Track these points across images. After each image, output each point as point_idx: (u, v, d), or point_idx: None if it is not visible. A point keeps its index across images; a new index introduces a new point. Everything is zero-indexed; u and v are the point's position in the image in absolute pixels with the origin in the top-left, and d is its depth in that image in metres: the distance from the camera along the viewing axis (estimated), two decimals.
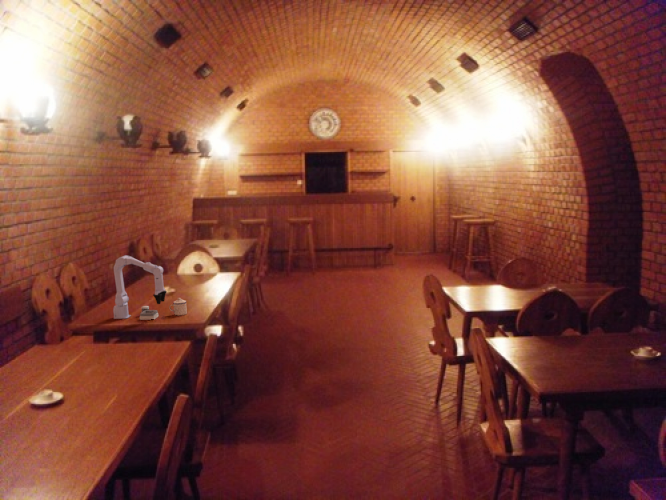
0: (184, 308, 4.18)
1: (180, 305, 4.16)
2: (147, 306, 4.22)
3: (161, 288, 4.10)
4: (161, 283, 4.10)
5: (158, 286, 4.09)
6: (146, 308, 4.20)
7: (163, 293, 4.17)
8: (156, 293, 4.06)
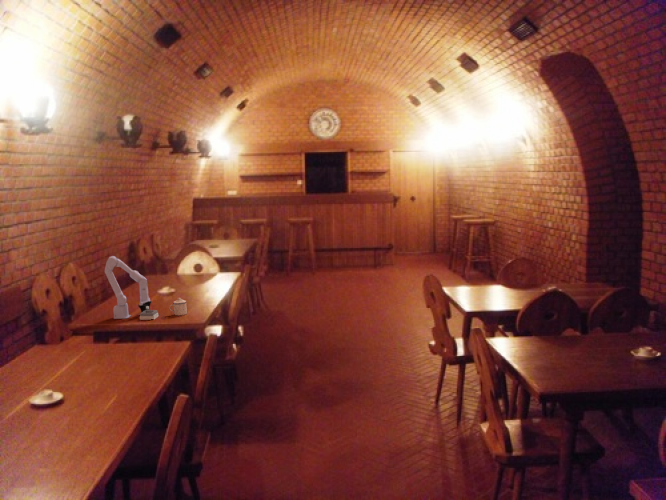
0: (184, 308, 4.18)
1: (180, 305, 4.16)
2: (147, 306, 4.22)
3: (146, 298, 4.19)
4: (147, 293, 4.19)
5: (143, 297, 4.18)
6: (146, 308, 4.20)
7: (148, 303, 4.25)
8: (141, 304, 4.14)
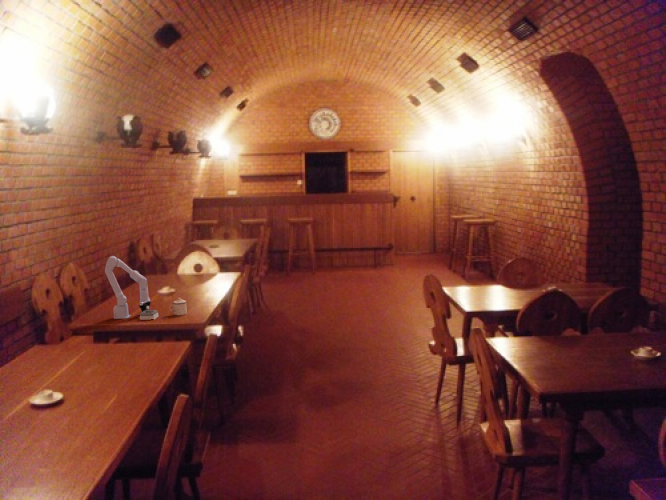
0: (184, 308, 4.18)
1: (180, 305, 4.16)
2: (147, 306, 4.22)
3: (146, 299, 4.19)
4: (147, 293, 4.19)
5: (143, 297, 4.18)
6: (146, 308, 4.20)
7: (147, 304, 4.24)
8: (141, 304, 4.14)
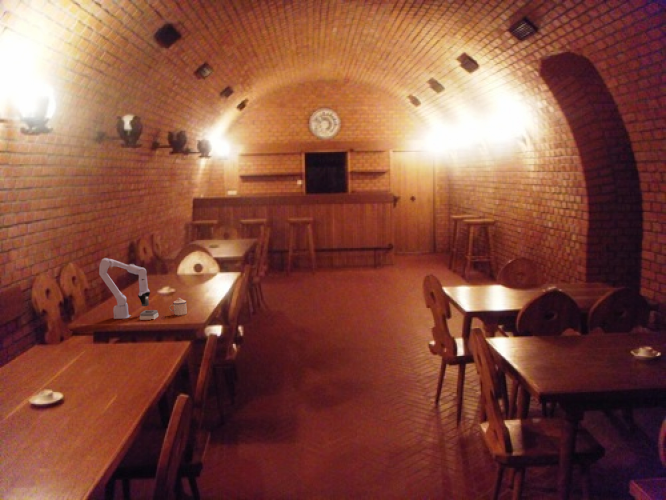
0: (184, 308, 4.18)
1: (180, 305, 4.16)
2: (146, 297, 4.21)
3: (145, 289, 4.18)
4: (146, 284, 4.18)
5: (142, 287, 4.17)
6: None
7: (147, 294, 4.23)
8: (140, 294, 4.13)
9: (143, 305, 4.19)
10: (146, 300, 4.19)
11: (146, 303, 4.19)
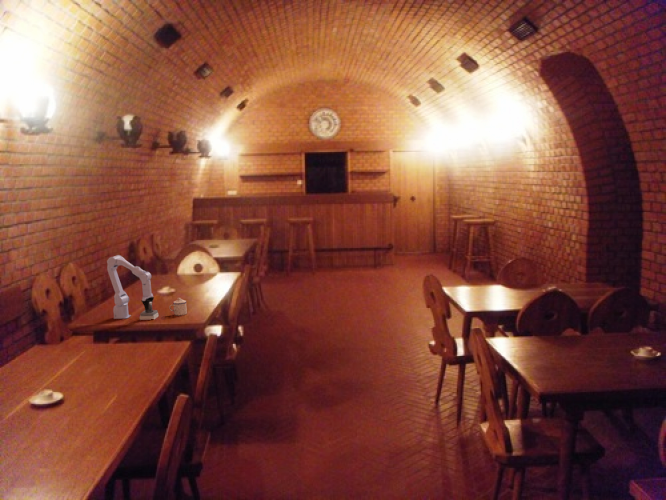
0: (184, 308, 4.18)
1: (180, 305, 4.16)
2: (150, 302, 4.12)
3: (149, 294, 4.09)
4: (148, 289, 4.08)
5: (146, 292, 4.08)
6: (149, 304, 4.10)
7: (150, 299, 4.14)
8: (143, 299, 4.04)
9: (146, 310, 4.10)
10: (149, 305, 4.10)
11: (149, 308, 4.10)
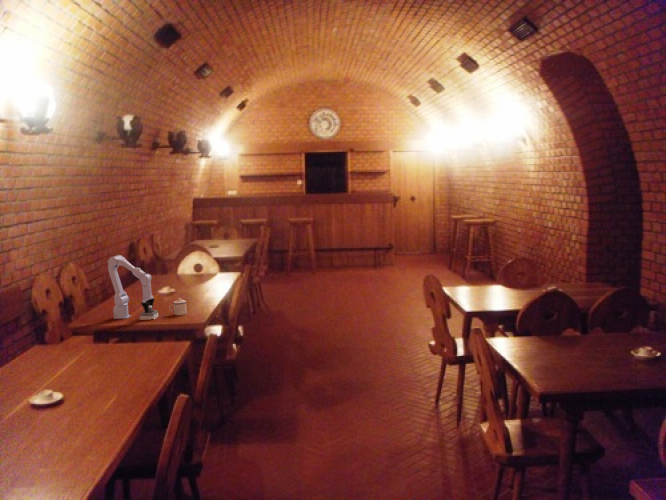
0: (184, 308, 4.18)
1: (180, 305, 4.16)
2: (150, 305, 4.12)
3: (149, 296, 4.09)
4: (148, 291, 4.08)
5: (146, 294, 4.08)
6: (149, 308, 4.10)
7: (151, 301, 4.15)
8: (144, 301, 4.04)
9: None
10: (150, 309, 4.10)
11: (150, 312, 4.11)
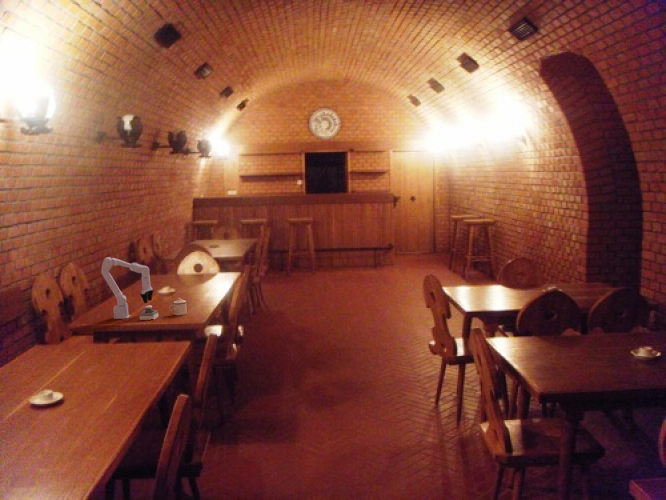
0: (184, 308, 4.18)
1: (180, 305, 4.16)
2: (150, 305, 4.12)
3: (148, 287, 4.18)
4: (149, 282, 4.19)
5: (145, 285, 4.17)
6: (149, 308, 4.10)
7: (150, 292, 4.24)
8: (143, 292, 4.13)
9: None
10: (150, 309, 4.10)
11: (150, 312, 4.11)
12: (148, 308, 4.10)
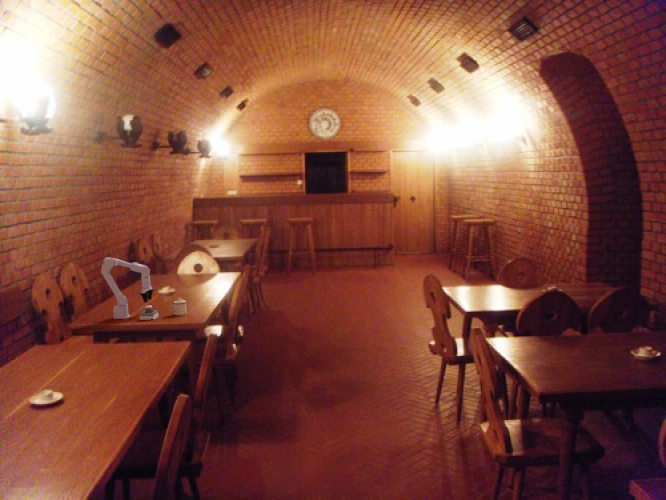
0: (184, 308, 4.18)
1: (180, 305, 4.16)
2: (150, 305, 4.12)
3: (148, 287, 4.20)
4: (149, 281, 4.21)
5: (145, 285, 4.19)
6: (149, 308, 4.10)
7: (150, 292, 4.27)
8: (143, 292, 4.16)
9: None
10: (150, 309, 4.10)
11: (150, 312, 4.11)
12: (148, 308, 4.10)
